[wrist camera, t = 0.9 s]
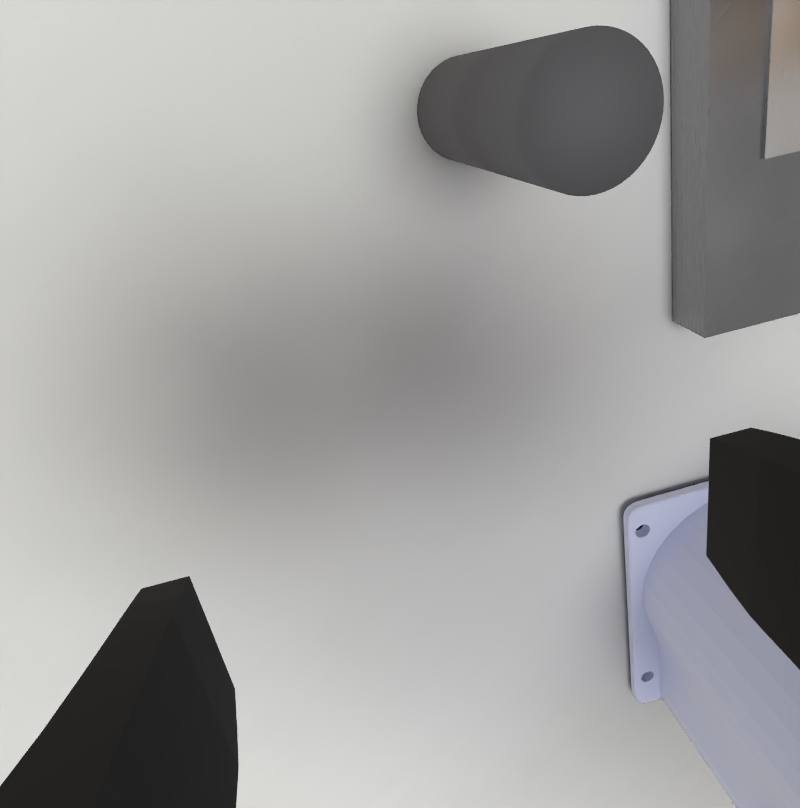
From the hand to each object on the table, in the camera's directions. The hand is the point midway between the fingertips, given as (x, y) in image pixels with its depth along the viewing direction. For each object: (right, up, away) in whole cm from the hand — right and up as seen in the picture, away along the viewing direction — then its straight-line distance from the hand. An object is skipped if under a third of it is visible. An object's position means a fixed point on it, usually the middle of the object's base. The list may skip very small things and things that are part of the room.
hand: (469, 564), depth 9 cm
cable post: (+1, +9, +7) cm, 12 cm away
